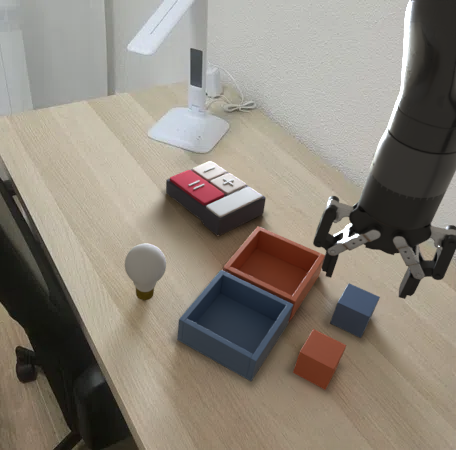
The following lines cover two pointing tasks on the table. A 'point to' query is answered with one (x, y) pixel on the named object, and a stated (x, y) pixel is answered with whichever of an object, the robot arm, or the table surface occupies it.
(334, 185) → the table surface
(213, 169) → the calculator
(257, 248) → the terracotta bin
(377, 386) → the table surface
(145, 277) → the light bulb
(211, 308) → the blue bin
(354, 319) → the blue block
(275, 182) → the table surface
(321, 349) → the terracotta block
